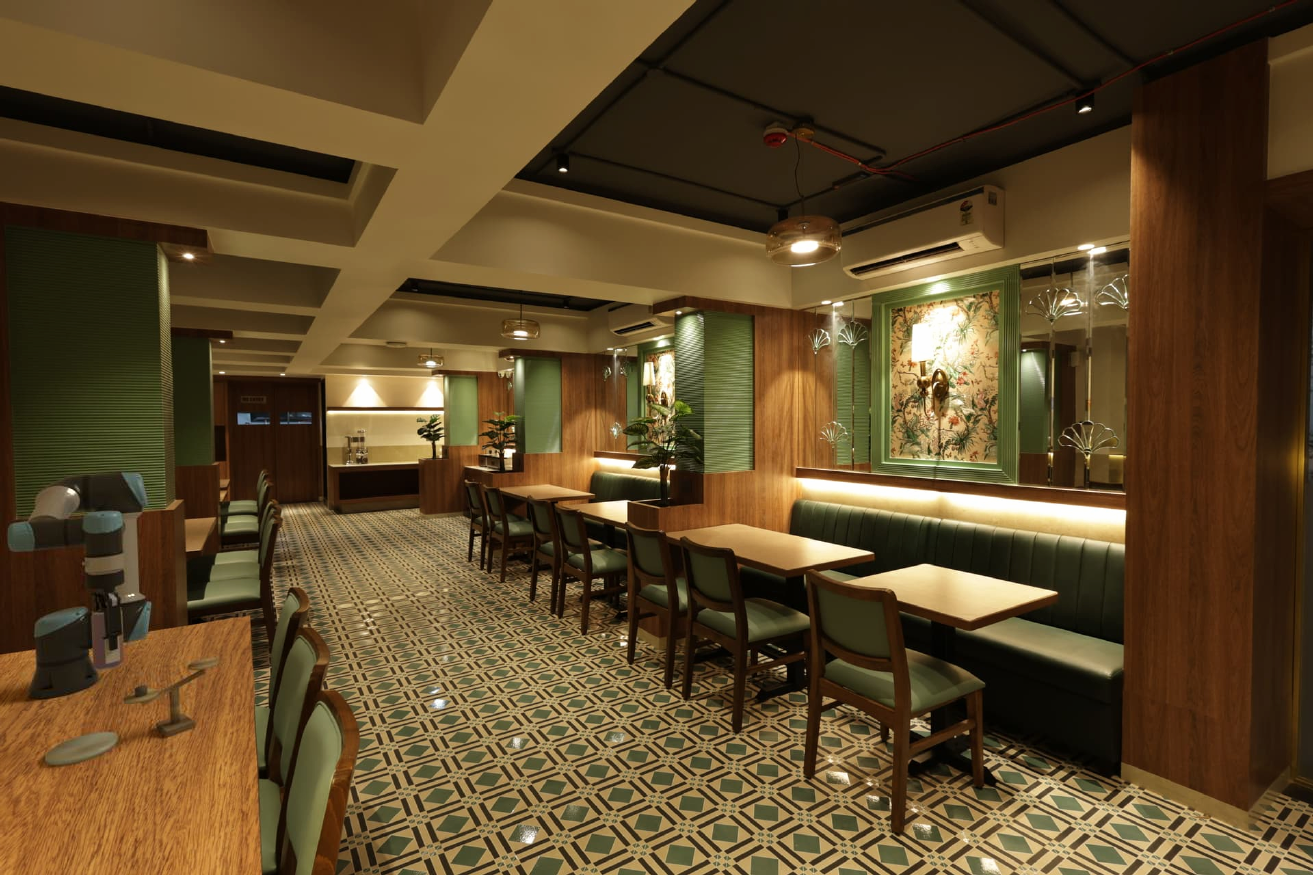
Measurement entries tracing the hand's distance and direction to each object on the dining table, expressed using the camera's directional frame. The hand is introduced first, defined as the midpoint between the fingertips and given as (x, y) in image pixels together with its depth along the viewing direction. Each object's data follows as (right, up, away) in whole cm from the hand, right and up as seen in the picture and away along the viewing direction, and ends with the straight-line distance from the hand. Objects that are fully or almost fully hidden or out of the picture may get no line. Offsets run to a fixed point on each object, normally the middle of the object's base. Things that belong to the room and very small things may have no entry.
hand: (108, 658), depth 158 cm
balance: (+16, -19, +2) cm, 25 cm away
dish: (+1, -20, -8) cm, 21 cm away
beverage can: (0, -2, 0) cm, 2 cm away
